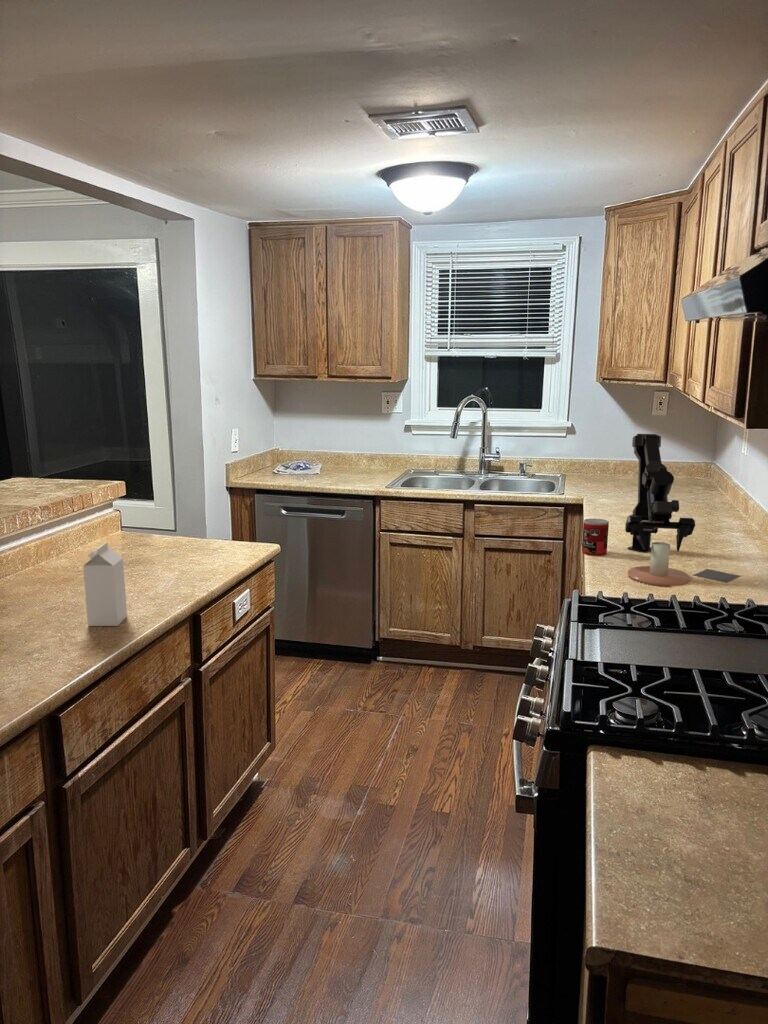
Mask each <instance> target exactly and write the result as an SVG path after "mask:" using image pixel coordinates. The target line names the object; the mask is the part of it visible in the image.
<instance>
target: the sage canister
mask: <svg viewBox="0 0 768 1024" xmlns="http://www.w3.org/2000/svg"><path fill="white" fill-rule="evenodd" d="M651 547H652V549H651V552H650V561H649V562H650V563H649V566H650V574H651V575H654V576H661V577H663V576H667V575H668V568H669V564H670V555H671V553H670V552H671V544H670V543H668V542H661V541H656V542H651Z"/></svg>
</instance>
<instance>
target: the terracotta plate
mask: <svg viewBox="0 0 768 1024" xmlns="http://www.w3.org/2000/svg"><path fill="white" fill-rule="evenodd" d="M690 576H691V575H689V574H688V573H687V572H684V571H683V570H678V569H676V568H675V569H674V568H671V567H668V575H667V576H663V577H661V576H654V575H651V574H650V565H642V566H641V565H640V566H635V567H631V568H629V569H628V570H627V577H628V578H629V579H630V580H631V581H633V582H636V581H637V582H636V583H639V582H640V584H642V583H644V584H643V585H647V584H648V586H654V587H665V588H673V586H682V585H686V584H688V583H690V581H691V577H690Z"/></svg>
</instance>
